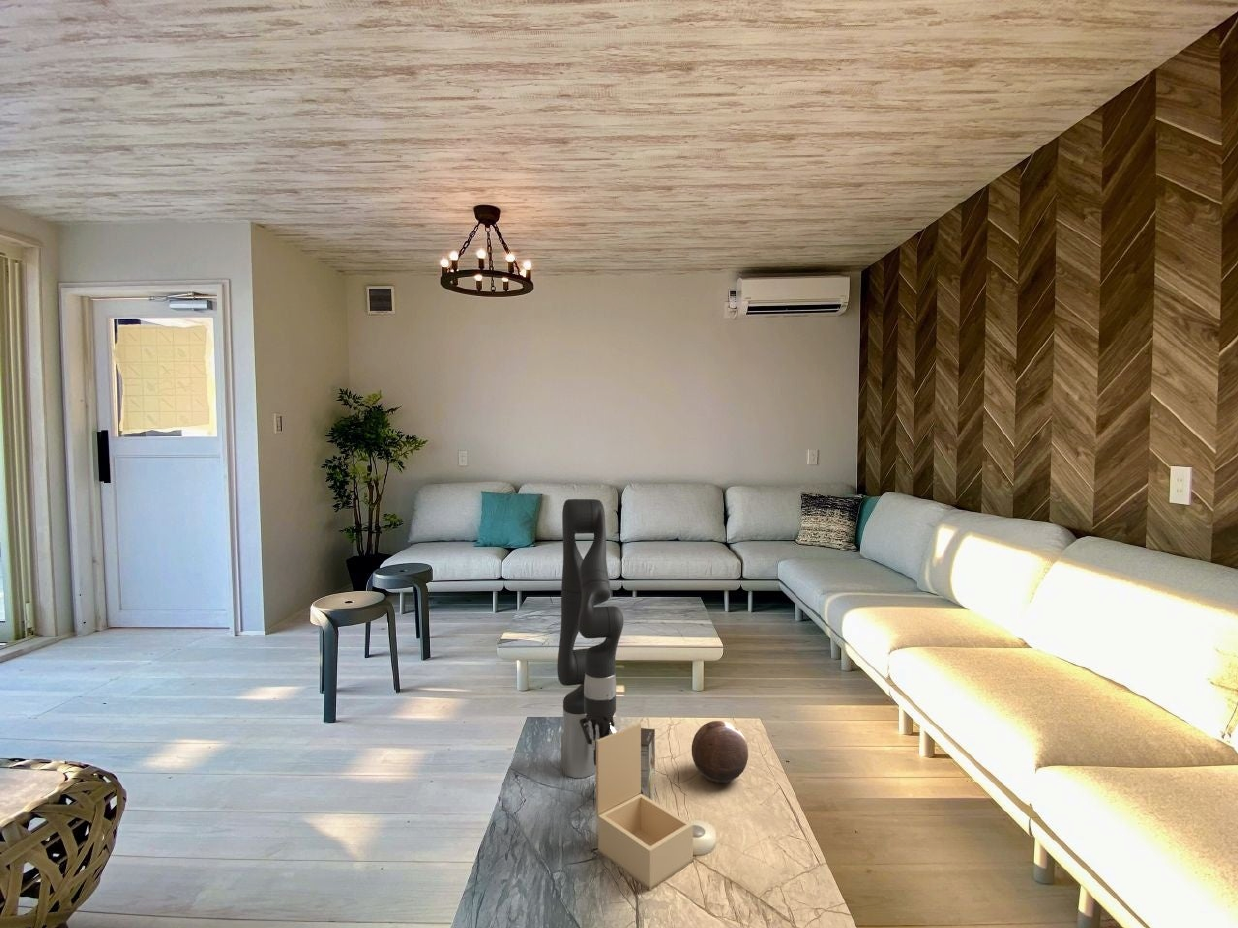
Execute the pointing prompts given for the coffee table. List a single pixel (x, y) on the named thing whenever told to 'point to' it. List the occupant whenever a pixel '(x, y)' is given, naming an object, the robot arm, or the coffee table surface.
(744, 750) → the wooden sphere
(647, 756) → the coffee box
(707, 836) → the cream domed button
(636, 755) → the lid
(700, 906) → the coffee table surface
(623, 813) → the box
